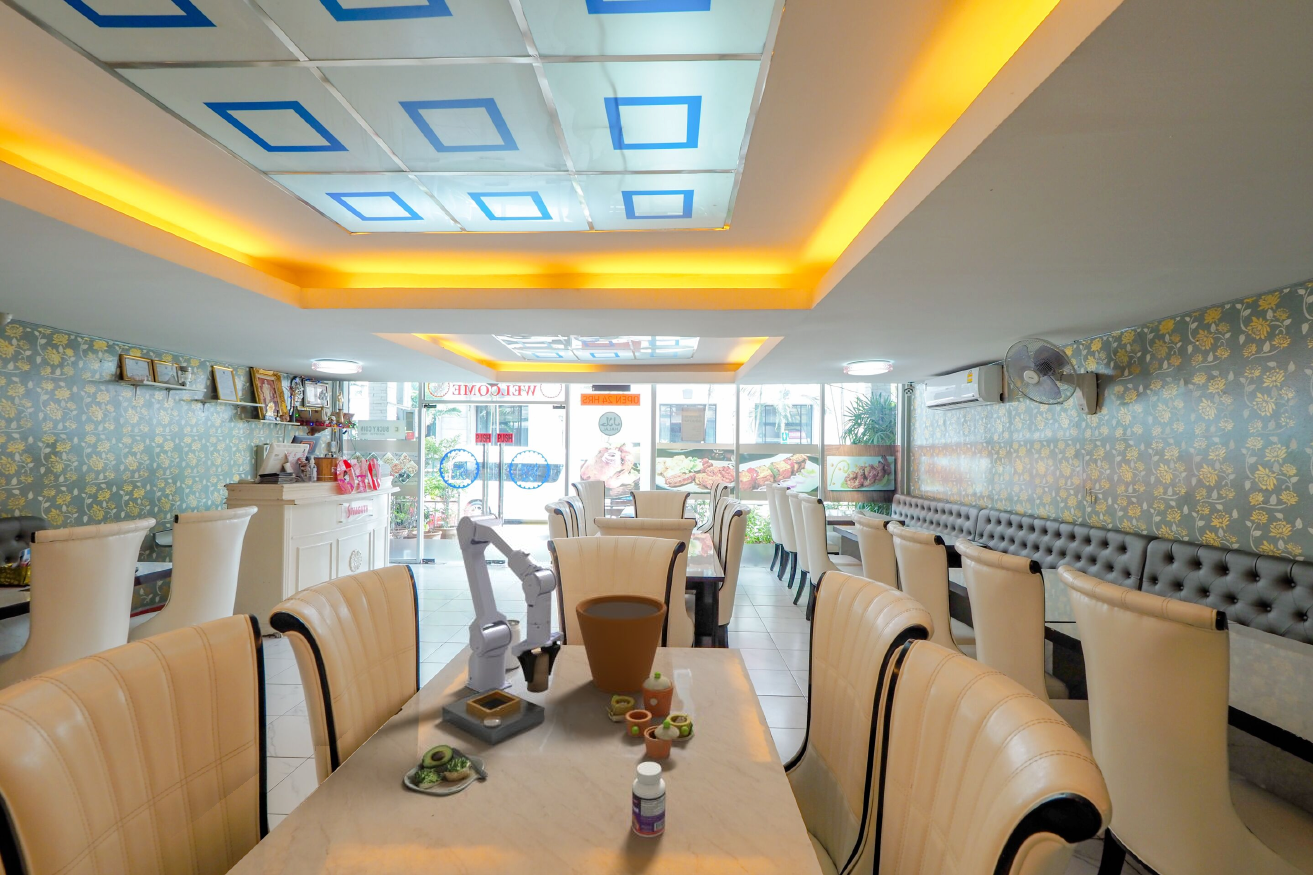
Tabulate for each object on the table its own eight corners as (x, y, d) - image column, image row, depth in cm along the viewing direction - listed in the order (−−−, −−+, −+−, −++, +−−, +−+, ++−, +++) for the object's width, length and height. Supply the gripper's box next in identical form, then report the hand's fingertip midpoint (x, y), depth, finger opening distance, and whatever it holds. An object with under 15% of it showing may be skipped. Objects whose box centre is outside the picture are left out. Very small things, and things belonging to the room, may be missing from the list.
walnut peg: (522, 688, 138) (523, 655, 138) (538, 682, 142) (539, 649, 142) (536, 694, 135) (537, 660, 135) (552, 687, 139) (553, 654, 139)
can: (523, 661, 165) (524, 619, 165) (516, 670, 159) (516, 626, 159) (501, 660, 166) (502, 618, 166) (493, 669, 159) (494, 625, 160)
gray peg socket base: (442, 720, 129) (442, 699, 129) (494, 699, 140) (494, 680, 141) (491, 746, 118) (492, 724, 118) (544, 721, 129) (544, 700, 130)
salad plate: (506, 765, 112) (506, 747, 112) (462, 806, 99) (462, 786, 99) (442, 752, 117) (442, 734, 117) (392, 789, 104) (393, 770, 104)
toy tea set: (601, 712, 135) (601, 670, 135) (660, 700, 141) (661, 660, 142) (647, 769, 111) (647, 718, 111) (716, 751, 118) (716, 703, 118)
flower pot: (556, 680, 152) (558, 604, 153) (626, 659, 168) (627, 590, 169) (612, 711, 135) (613, 625, 135) (684, 684, 151) (685, 607, 151)
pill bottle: (631, 818, 96) (631, 759, 96) (663, 817, 96) (664, 758, 96) (632, 840, 90) (633, 778, 91) (666, 839, 91) (667, 776, 91)
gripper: (525, 631, 130) (524, 692, 130) (572, 617, 142) (571, 672, 142) (506, 625, 135) (505, 684, 135) (553, 611, 146) (552, 665, 146)
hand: (537, 677), depth 138 cm, fingers closed on walnut peg, 5 cm apart
